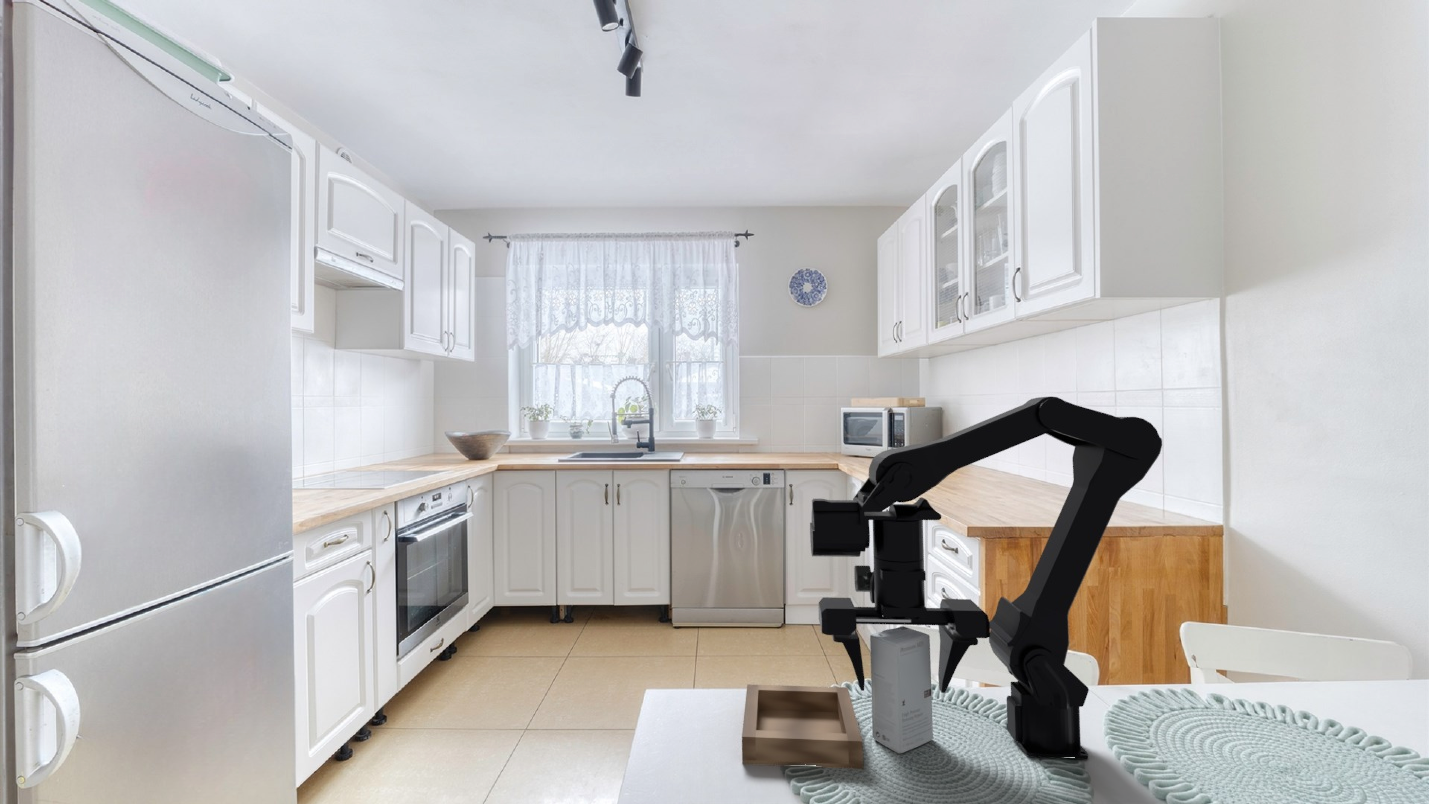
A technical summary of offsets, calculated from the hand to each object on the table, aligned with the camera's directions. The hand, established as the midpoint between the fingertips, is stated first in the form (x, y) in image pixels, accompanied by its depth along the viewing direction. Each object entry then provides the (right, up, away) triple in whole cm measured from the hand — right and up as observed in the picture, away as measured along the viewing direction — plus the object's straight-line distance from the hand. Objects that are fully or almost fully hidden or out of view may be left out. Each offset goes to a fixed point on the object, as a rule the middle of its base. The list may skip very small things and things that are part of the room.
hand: (901, 690), depth 70 cm
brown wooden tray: (-12, -6, +1) cm, 14 cm away
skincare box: (0, -6, 0) cm, 6 cm away
